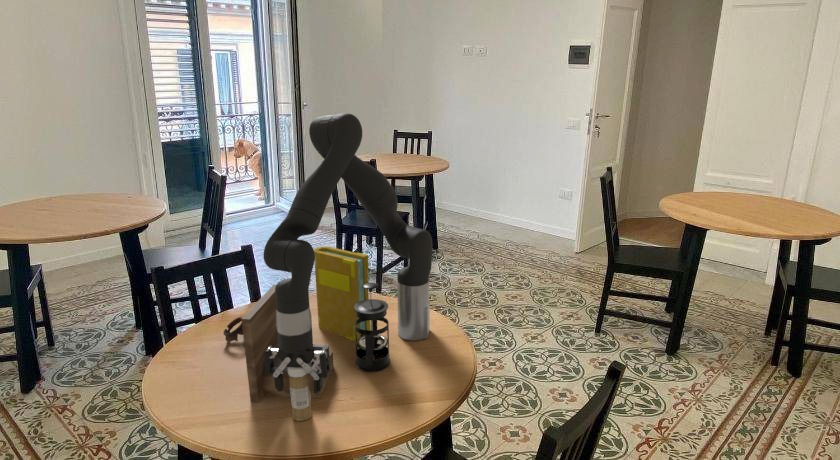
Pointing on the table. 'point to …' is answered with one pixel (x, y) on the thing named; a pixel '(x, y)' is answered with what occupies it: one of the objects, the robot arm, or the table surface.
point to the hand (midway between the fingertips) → (298, 390)
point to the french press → (372, 333)
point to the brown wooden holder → (257, 340)
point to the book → (340, 290)
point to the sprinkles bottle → (299, 393)
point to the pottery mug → (234, 334)
